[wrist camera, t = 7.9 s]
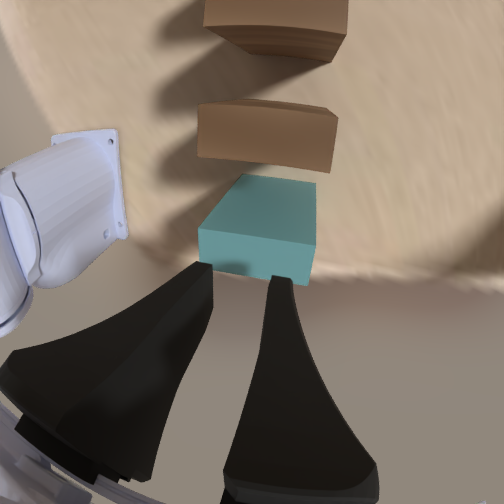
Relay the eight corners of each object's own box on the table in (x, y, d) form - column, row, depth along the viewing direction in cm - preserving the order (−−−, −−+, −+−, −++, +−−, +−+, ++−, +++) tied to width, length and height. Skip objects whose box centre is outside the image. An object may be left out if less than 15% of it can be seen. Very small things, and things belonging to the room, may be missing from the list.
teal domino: (311, 211, 19) (307, 285, 12) (241, 201, 19) (199, 267, 13) (315, 183, 17) (316, 245, 11) (242, 173, 18) (197, 228, 12)
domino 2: (322, 139, 16) (330, 173, 9) (245, 129, 17) (197, 156, 10) (326, 108, 15) (338, 117, 8) (247, 98, 15) (198, 104, 9)
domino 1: (331, 62, 13) (346, 34, 7) (250, 54, 14) (202, 26, 7) (333, 33, 12) (348, -13, 5) (253, 25, 13) (207, -19, 6)
